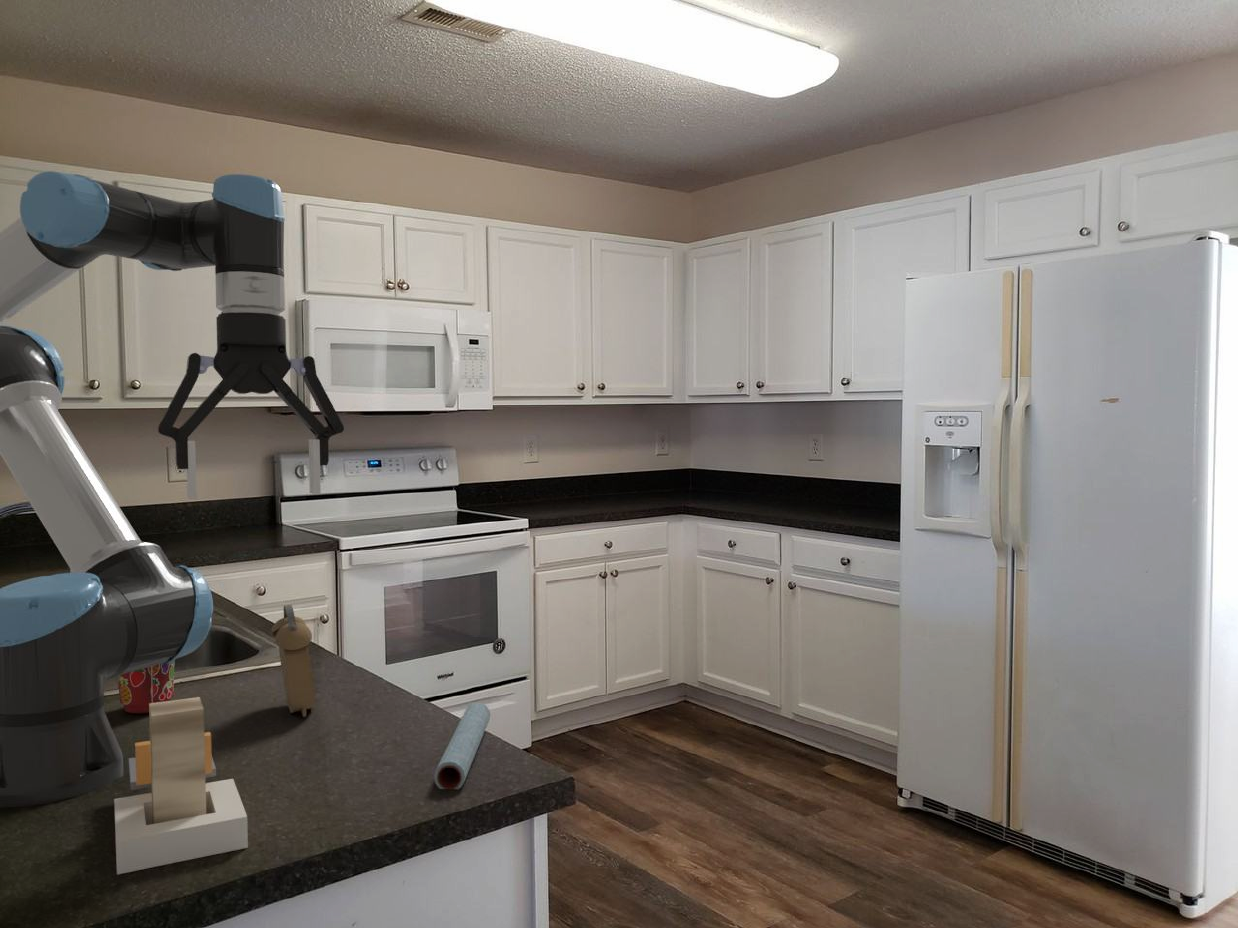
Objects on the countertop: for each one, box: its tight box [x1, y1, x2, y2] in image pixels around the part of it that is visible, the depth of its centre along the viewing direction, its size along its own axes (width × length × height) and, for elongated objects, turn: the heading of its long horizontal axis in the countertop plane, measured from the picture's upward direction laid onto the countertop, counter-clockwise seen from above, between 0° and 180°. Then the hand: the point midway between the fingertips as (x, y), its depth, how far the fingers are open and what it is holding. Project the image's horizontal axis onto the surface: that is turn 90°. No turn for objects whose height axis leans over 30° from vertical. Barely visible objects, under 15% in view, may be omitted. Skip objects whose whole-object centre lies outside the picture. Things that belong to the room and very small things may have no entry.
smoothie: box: [116, 659, 176, 714], centre depth 134 cm, size 8×8×20 cm
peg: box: [148, 696, 207, 824], centre depth 92 cm, size 4×4×13 cm
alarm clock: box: [271, 604, 316, 718], centre depth 133 cm, size 11×5×15 cm, turn 25°
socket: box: [114, 778, 249, 875], centre depth 92 cm, size 11×11×3 cm
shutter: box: [128, 731, 217, 791], centre depth 101 cm, size 8×9×5 cm
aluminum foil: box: [433, 702, 491, 790], centre depth 116 cm, size 23×7×3 cm, turn 1°
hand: (255, 496), depth 112 cm, fingers open, 13 cm apart
